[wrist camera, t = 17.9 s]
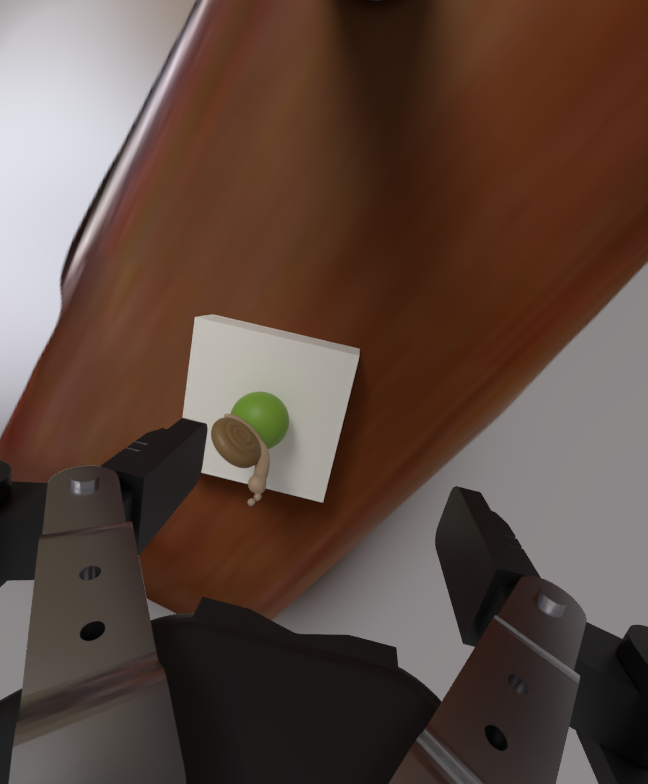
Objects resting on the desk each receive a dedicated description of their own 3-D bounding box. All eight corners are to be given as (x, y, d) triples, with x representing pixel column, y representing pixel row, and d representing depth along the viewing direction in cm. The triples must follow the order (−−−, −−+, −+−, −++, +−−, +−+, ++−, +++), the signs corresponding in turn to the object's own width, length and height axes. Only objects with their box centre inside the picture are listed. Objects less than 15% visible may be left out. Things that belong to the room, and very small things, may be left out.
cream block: (214, 314, 40) (195, 317, 36) (359, 348, 40) (359, 355, 35) (196, 447, 45) (176, 466, 40) (326, 479, 44) (322, 502, 39)
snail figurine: (275, 454, 38) (231, 525, 27) (230, 409, 38) (166, 462, 26) (313, 421, 37) (282, 482, 25) (267, 373, 36) (215, 414, 25)
